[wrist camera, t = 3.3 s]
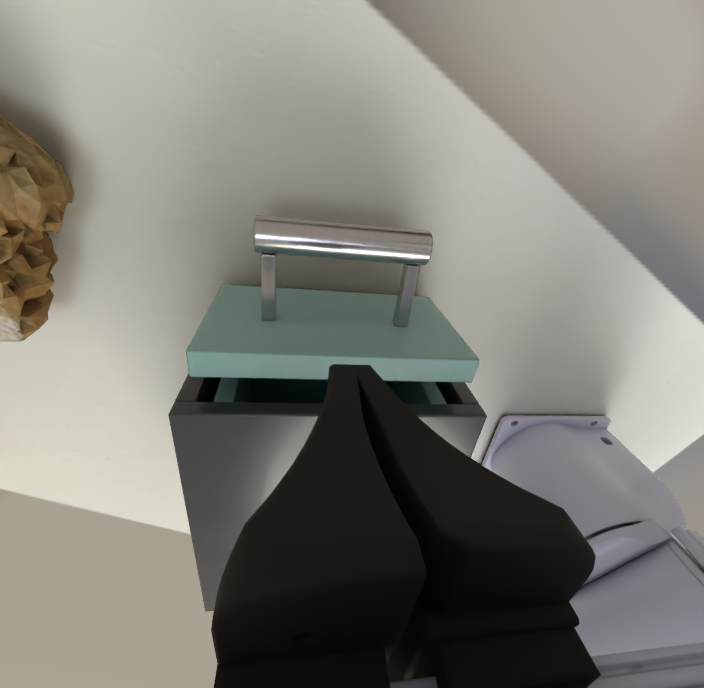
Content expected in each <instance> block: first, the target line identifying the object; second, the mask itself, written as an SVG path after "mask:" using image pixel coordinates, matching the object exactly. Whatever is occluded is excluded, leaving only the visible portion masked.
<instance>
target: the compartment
mask: <svg viewBox="0 0 704 688" xmlns="http://www.w3.org/2000/svg"><path fill="white" fill-rule="evenodd" d="M221 378H222V377H191V376H190V375H189V374H188V376H187V378H186V380H185V382H184V384H183V386H182V388H181V390H180V392H179V394H178V396H177V398H176V400H175V402H174V404H173V406H172V409H171V411H170V413H169V420H170V425H171V430H172V436H173V441H174V446H175V452H176V457H177V462H178V468H179V473H180V478H181V484H182V489H183V494H184V500H185V505H186V510H187V516H188V521H189V526H190V532H191V536H192V542H193V548H194V553H195V558H196V564H197V569H198V574H199V580H200V585H201V590H202V596H203V601H204V606H205V611H214V608H215V602H216V596H217V592H218V588H219V585H220V581H221V578H222V575H223V572H224V569H225V566H226V564H227V561H228V559H229V557H230V554H231V552H232V550H233V547H234V545H235V543H236V541H237V539H238V537H239V535H240V533H241V531H242V529H243V527H244V524H245V523H246V522H247V521H248V520H249V518H250V517H251V516H252V515H253V514H254V513H255V511H256V510H257V509H258V508H259V507H260V506H261V505H262V503H263V502H264V501H265V500H266V499H267V498H268V496H269V495H270V494H271V493H272V492H273V490H274V489H275V487H276V486H277V485H278V483H279V482H280V481H281V479H282V478H283V477H284V475H285V474H286V473H287V471H288V470H289V468H290V467H291V465H292V464H293V462H294V461H295V459H296V458H297V456H298V454H299V453H300V451H301V449H302V448H303V446H304V444H305V443H306V441H307V439H308V437H309V435H310V433H311V431H312V429H313V427H314V425H315V423H316V420H317V418H318V416H319V413H320V411H321V408H322V406H323V403H284V402H213V401H214V398H215V395H216V392H217V389H218V386H219V383H220V380H221ZM435 383H436V385H437V387H438V388H439V390H440V392H441V394H442V396H443V398H444V399H445V401H446V403H447V404H405V405H406V406H407V407H408V408H409V409H410V410H411V411H412V412H413V413H414V414H415V415H417V416H418V417H419V418H420V419H421V420H422V421H423V422H424V423H425V424H426V425H428V426H429V427H430V428H431V429H432V430H433V431H435V432H436V433H437V434H438V435H440V436H441V437H442V438H444V439H445V440H446V441H447V442H449V443H450V444H451V445H453V446H454V447H455V448H457V449H458V450H460V451H461V452H463V453H464V454H466V455H467V456H469V457H470V458H471V455H472V453H473V450H474V448H475V445H476V443H477V440H478V438H479V435H480V433H481V430H482V427H483V425H484V422H485V420H486V417H487V415H486V414H485V412H484V411H483V409H482V408H481V406H480V405H479V403H478V401H477V400H476V398H475V397H474V396H473V394H472V393H471V391H470V390H469V388H468V387H467V385H466V384H465V382H435Z"/></svg>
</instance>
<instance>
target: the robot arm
mask: <svg viewBox="0 0 704 688" xmlns="http://www.w3.org/2000/svg"><path fill="white" fill-rule="evenodd" d="M610 422H611V421H610V419H609V418H608V417H607V416H504V417H503V418H502V419H501V420H500V422H499V425H498V427H497V429H496V432H495V434H494V436H493V439H492V441H491V444H490V446H489V448H488V451H487V453H486V455H485V458H484V460H483V463H482V465H481V464H479V463H477V462H476V461H474V460H473V459H472V458H470V457H469V456H467V455H466V454H464V453H463V452H461V451H460V450H458V449H457V448H455V447H454V446H453V445H451V444H450V443H449V442H447V441H446V440H445V439H444V438H442V437H441V436H440V435H438V434H437V433H436V432H435V431H433V430H432V429H431V428H430V427H429V426H428V425H426V424H425V423H424V422H423V421H422V420H421V419H420V418H419V417H418V416H417V415H415V414H414V413H413V412H412V411H411V410H410V409H409V408H408V407H407V406H406V405H405V404H404V403H403V402H402V401H401V400H400V399H399V397H398V396H397V395H396V394H395V393H394V392H393V391H392V390H391V389H390V388H389V386H388V385H387V384H386V383H385V382H384V381H383V379H382V378H381V377H380V376H379V375H378V374H377V372H376V371H375V370H374V369H373V368H372V367H371V366H370V365H349V364H332V365H331V366H330V367H329V374H328V385H327V393H326V396H325V400H324V403H323V406H322V408H321V411H320V413H319V416H318V418H317V420H316V423H315V425H314V427H313V429H312V431H311V433H310V435H309V437H308V439H307V441H306V443H305V444H304V446H303V448H302V449H301V451H300V453H299V454H298V456H297V458H296V459H295V461H294V462H293V464H292V465H291V467H290V468H289V470H288V471H287V473H286V474H285V475H284V477H283V478H282V479H281V481H280V482H279V483H278V485H277V486H276V487H275V489H274V490H273V492H272V493H271V494H270V495H269V496H268V498H267V499H266V500H265V501H264V502H263V503H262V505H261V506H260V507H259V508H258V509H257V510H256V511H255V513H254V514H253V515H252V516H251V517H250V518H249V520H248V521H247V522H246V523H245V524H244V527H243V529H242V531H241V533H240V535H239V537H238V539H237V541H236V543H235V545H234V547H233V550H232V552H231V554H230V557H229V559H228V561H227V564H226V566H225V569H224V572H223V575H222V578H221V581H220V585H219V588H218V592H217V596H216V602H215V608H214V614H213V620H212V629H211V630H212V636H213V642H214V647H215V652H216V658H217V663H218V665H217V671H216V677H215V684H214V688H704V537H703V536H702V535H701V534H699V533H698V532H695V531H691V530H686V522H685V518H684V515H683V512H682V509H681V507H680V505H679V503H678V501H677V499H676V498H675V496H674V495H673V493H672V492H671V491H670V489H669V488H668V487H667V486H666V485H665V484H664V483H663V482H662V481H661V480H660V479H658V477H657V476H656V475H655V474H653V473H652V472H651V471H650V470H649V469H648V468H647V467H646V466H645V465H644V464H643V463H642V462H641V461H640V460H639V459H638V458H637V457H636V456H634V455H633V454H632V453H631V452H630V451H629V450H628V449H627V448H626V447H625V446H624V445H623V444H622V443H621V442H620V441H619V440H618V439H616V438H615V437H614V436H613V435H612V434H611V433H610V432H609V431H608V430H607V427H608V426H609V424H610ZM682 545H683V546H684V547H685V548H686V550H687V551H688V552H689V553H688V552H687V551H686V550H685V548H684V547H682Z"/></svg>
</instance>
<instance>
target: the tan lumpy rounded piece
mask: <svg viewBox="0 0 704 688" xmlns="http://www.w3.org/2000/svg"><path fill="white" fill-rule="evenodd" d="M73 196H74V191H73V187H72V184H71V181H70V179H69V178H68V176H67V174H66V173H65V171H64V170H63V168H62V166H61V165H60V163H59V162H58V161H56V162H54V160H53V159H52V158H51V157H50V156H49V154H48V153H47V152H46V151H45V150H44V149H43V148H42V147H41V146H40V145H39V144H38V143H36V142H35V141H34V140H33V139H32V138H31V137H30V136H28V135H27V134H25V133H24V132H23V131H21V130H20V129H18V128H17V127H15V126H14V125H13V124H11V123H10V122H8V121H7V120H5V119H4V118H3V117H1V116H0V341H22V340H25V339H26V338H27V337H29V336H30V335H31V334H33V333H34V332H35V331H36V330H38V329H39V328H40V327H41V326H42V325H43V324H44V323H45V322H46V321H47V320H48V311H49V307H50V304H51V301H52V298H53V296H54V295H53V293H52V292H51V290H50V287H51V286H52V285H53V283H54V279H53V276H52V274H51V273H50V271H51V269H52V268H53V266H54V265H55V264H56V262H57V261H58V260H59V259H58V258H57V256H56V254H55V253H54V251H53V246H52V241H51V239H50V238H49V237H48V236H49V235H48V234H47V233H46V232H45V231H48V230H51V231H53V232H55V233H58V231H59V229H60V227H61V225H62V220H63V215H64V211H65V208H66V205H67V204H68V202H70V203H72V199H73Z"/></svg>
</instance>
